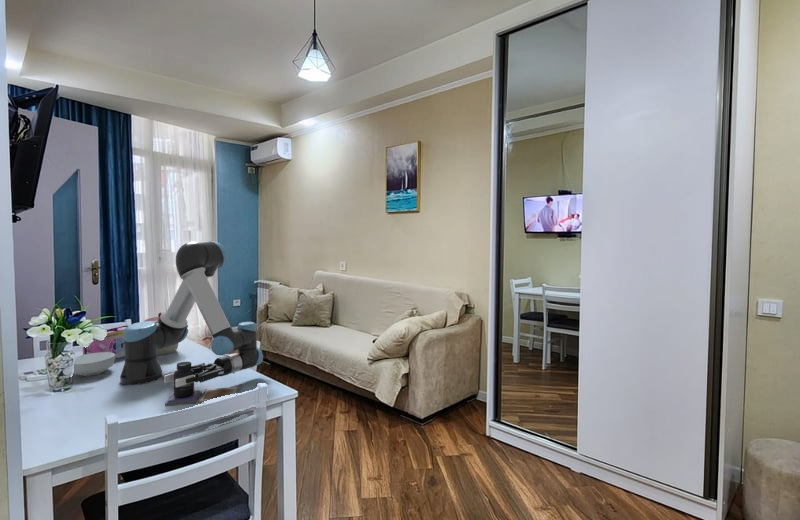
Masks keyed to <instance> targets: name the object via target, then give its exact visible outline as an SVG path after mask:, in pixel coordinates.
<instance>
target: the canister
mask: <svg viewBox="0 0 800 520" xmlns="http://www.w3.org/2000/svg"><path fill="white" fill-rule="evenodd" d="M164 312H165V311H161V312H158V314H157V316H156V317H155V316H154V317H149V318H146V319H144V321H153V322H155V323H156V322H157V321H158V319H159V317H160V316H161V314H162V313H164ZM178 348H179V343H177V344H175V345H171V346H168V347H165V348H161V349H158V350H157V356H163V355H164V356H165V355H169V354H173V353H174V352H176V351H178V350H177V349H178Z"/></svg>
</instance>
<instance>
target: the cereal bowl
mask: <svg viewBox="0 0 800 520" xmlns="http://www.w3.org/2000/svg"><path fill="white" fill-rule="evenodd" d="M74 357H75V361H74V373H73V374H74V375H79V376H80V375H81V376H82V375H83V376H82V377H90V376H91V375H92V376H97V375H100V374H103V373H104V372H105V371H106V370H108V369H110V368H111V367H112V366H113V365H114V364H115V362H116V358H115V354H114V353H110V352H100V353H91V354H85V355H83V354H82V355H77V356H74ZM92 376H91V377H92Z"/></svg>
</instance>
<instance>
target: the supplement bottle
mask: <svg viewBox="0 0 800 520" xmlns="http://www.w3.org/2000/svg"><path fill="white" fill-rule="evenodd" d="M192 366H193V365H192V362H191V361H179V362H178V363H177V364H176V370H175V372H173V373H174V381H173V393H174V397H176V398H186V397H190V396H192V395H193V394H194V390H195V382H193V383H190V384H186V385H183V386H180V387H175V380H176V379H179V378H183V377H186V376H190V375H194V370H192V369H191V367H192ZM194 376H195V375H194Z"/></svg>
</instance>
